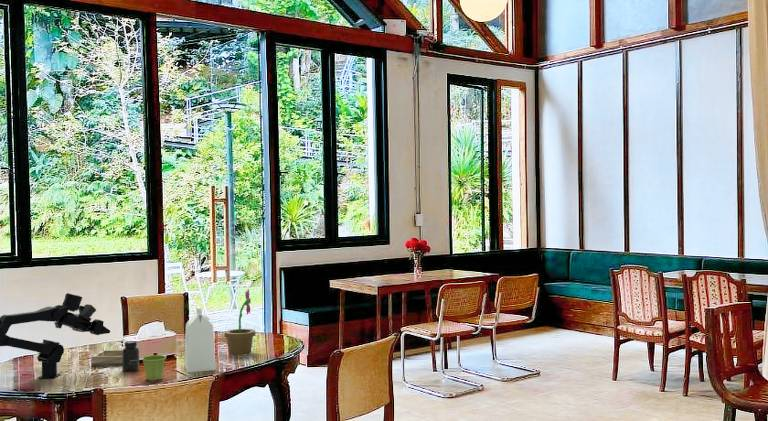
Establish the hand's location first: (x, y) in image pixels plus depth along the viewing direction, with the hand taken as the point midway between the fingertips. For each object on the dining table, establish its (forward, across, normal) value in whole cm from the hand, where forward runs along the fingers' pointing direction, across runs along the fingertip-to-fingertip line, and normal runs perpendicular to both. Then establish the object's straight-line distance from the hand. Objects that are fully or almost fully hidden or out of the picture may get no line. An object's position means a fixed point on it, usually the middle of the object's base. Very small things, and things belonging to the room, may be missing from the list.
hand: (103, 330), depth 317 cm
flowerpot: (+54, -29, -7) cm, 62 cm away
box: (+12, +3, +11) cm, 17 cm away
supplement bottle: (+8, -17, +13) cm, 23 cm away
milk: (+26, -39, +5) cm, 47 cm away
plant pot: (+5, -39, +15) cm, 42 cm away
